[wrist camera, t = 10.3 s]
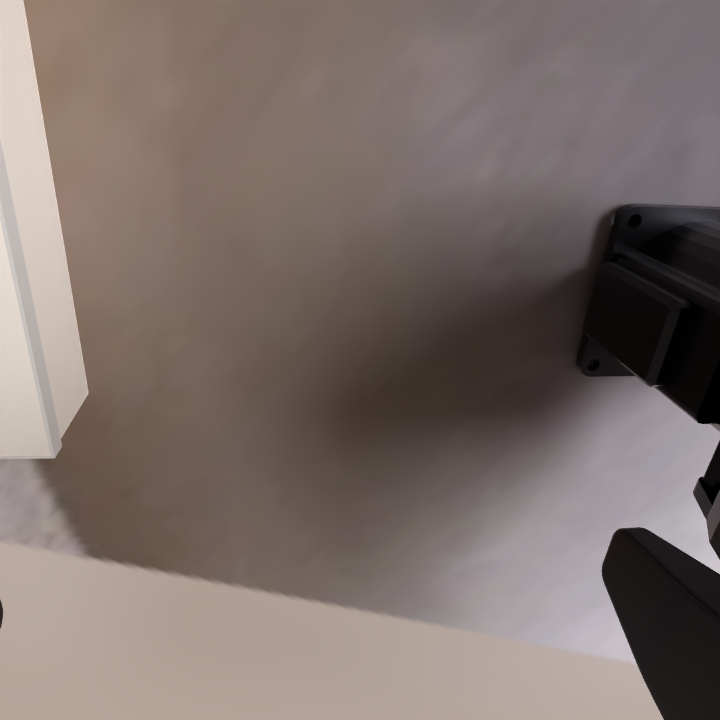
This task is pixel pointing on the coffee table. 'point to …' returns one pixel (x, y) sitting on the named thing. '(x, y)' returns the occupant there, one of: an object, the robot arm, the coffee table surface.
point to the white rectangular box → (31, 267)
